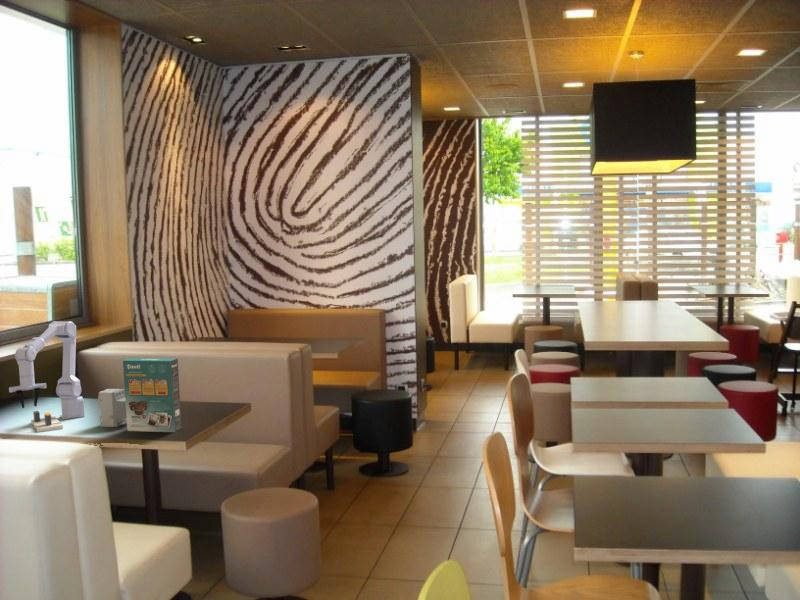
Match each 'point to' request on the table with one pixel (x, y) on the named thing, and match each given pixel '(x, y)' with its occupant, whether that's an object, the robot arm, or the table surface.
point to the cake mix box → (152, 394)
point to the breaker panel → (40, 423)
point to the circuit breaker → (112, 407)
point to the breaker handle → (47, 418)
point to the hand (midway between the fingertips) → (29, 406)
